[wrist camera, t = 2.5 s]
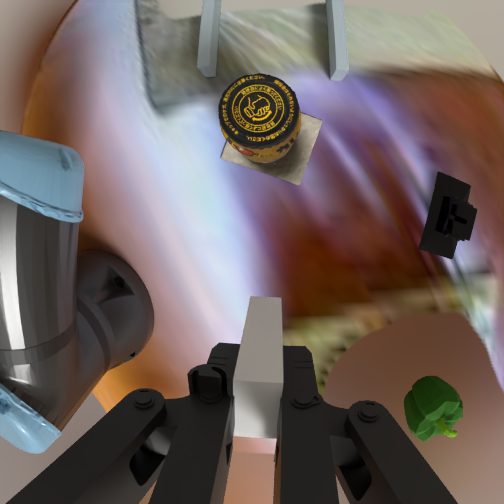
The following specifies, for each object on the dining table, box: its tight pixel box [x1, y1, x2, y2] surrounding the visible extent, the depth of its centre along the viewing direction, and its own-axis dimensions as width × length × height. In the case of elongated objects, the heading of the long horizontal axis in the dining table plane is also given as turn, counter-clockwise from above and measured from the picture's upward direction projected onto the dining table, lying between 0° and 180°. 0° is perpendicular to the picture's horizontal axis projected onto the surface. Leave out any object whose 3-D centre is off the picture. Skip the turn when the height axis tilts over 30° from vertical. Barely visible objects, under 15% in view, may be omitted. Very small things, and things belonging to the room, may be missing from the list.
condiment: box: [218, 73, 322, 186], centre depth 23 cm, size 7×8×12 cm
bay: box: [197, 0, 349, 81], centre depth 23 cm, size 14×14×4 cm
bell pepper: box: [404, 376, 463, 441], centre depth 30 cm, size 8×8×10 cm
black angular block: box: [419, 172, 477, 259], centre depth 27 cm, size 12×7×5 cm, turn 168°
